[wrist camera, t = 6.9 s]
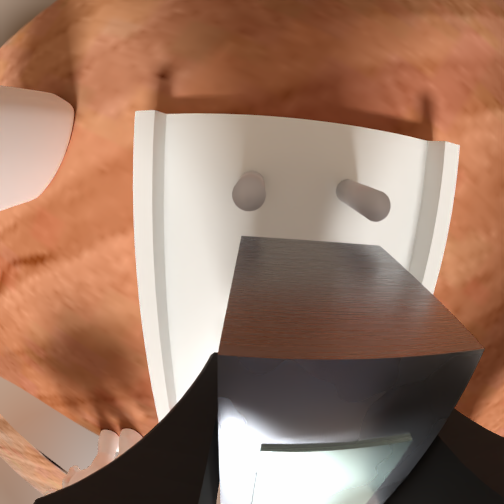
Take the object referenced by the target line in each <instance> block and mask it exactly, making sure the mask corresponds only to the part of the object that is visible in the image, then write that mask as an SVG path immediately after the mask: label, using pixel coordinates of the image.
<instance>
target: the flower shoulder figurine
mask: <svg viewBox="0 0 504 504" xmlns="http://www.w3.org/2000/svg"><path fill="white" fill-rule="evenodd" d="M142 438H143V437H142V436H141V435H140V434H139V433H138V432H136V431H135V430H133V429H129V428H126V429H122V431H121V433H120V437H119V436H118V435H117V434H116V433H115V432H113V431H110V430H102V431H101V433H100V437H99V442H98V454H97V456H96V457H95V459H94V460H93V462H92V464H91V466H88V468H87V469H83V470H80V468H78V466H73V467H71V468H70V469H69V471H68V474H67V476H66V477H65V478H64V479H63V481H62V486H63V488H65V487H67V486H70V485H72V484H74V483H76V482H78V481H80V480H82V479H84V478H85V477H87V476H89V475H90V474H92V473H94V472H96V471H97V470H99V469H101V468H102V467H104V466H106V465H107V464H109V463H110V462H112V461H113V460H115V459H116V458H118V457H119V456H120V455H122V454H123V453H124V452H126V451H127V450H128V449H130V448H131V447H132V446H133V445H135V444H136V443H137V442H138V441H140V440H141V439H142ZM116 451H117V452H119V454H118V456H117V457H116V458H115V454H116ZM114 458H115V459H114ZM63 488H62V489H63ZM48 492H51V493H53V492H55V490H54V489H53V488H50V489H48V490H47V491H46V492H45V493H44V496H45V494H46V493H48Z"/></svg>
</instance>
